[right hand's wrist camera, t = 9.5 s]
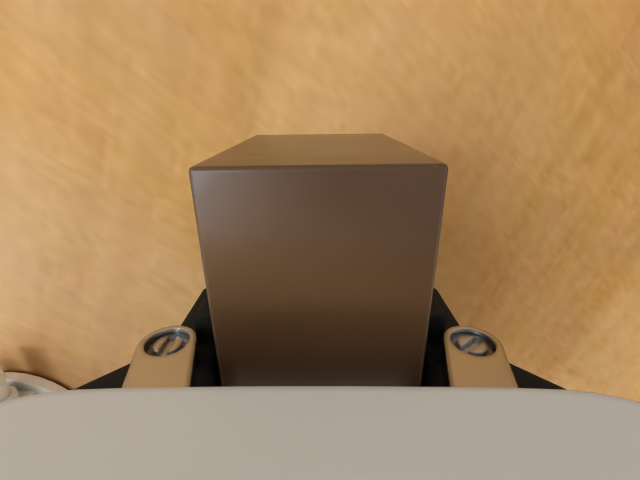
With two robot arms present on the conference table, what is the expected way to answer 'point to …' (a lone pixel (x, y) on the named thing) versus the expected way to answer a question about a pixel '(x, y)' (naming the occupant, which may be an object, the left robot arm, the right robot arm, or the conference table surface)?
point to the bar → (319, 258)
